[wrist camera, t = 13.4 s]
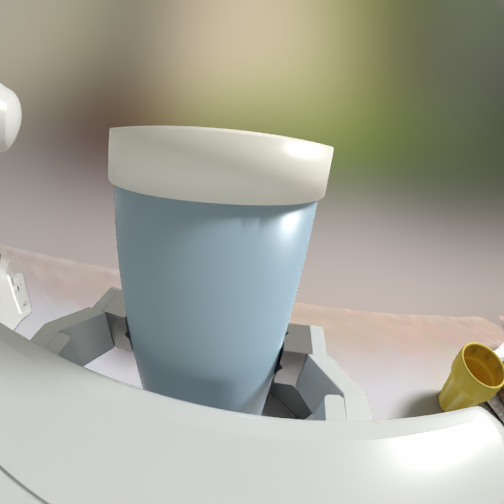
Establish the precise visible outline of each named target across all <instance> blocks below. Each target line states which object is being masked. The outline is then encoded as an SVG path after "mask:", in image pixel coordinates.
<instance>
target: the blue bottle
mask: <svg viewBox="0 0 504 504" xmlns="http://www.w3.org/2000/svg"><path fill="white" fill-rule="evenodd" d="M109 132H110V133H109V153H108V179H109V181H110V182H111V183H113V184H114V203H115V224H116V237H117V249H118V259H119V269H120V277H121V284H122V291H123V298H124V304H125V310H126V316H127V321H128V327H129V332H130V337H131V341H132V346H133V350H134V355H135V359H136V363H137V367H138V371H139V375H140V379H141V382H142V386H143V389H144V390H147V391H150V392H153V393H157V394H160V395H163V396H167V397H171V398H174V399H178V400H182V401H186V402H190V403H194V404H199V405H203V406H208V407H213V408H218V409H223V410H228V411H234V412H240V413H246V414H253V415H261V413H262V410H263V407H264V404H265V401H266V398H267V394H268V391H269V388H270V385H271V382H272V378H273V375H274V372H275V368H276V365H277V362H278V358H279V355H280V351H281V348H282V344H283V341H284V338H285V334H286V330H287V327H288V323H289V320H290V316H291V312H292V308H293V305H294V301H295V297H296V293H297V289H298V285H299V281H300V277H301V273H302V269H303V264H304V260H305V256H306V252H307V248H308V243H309V239H310V234H311V230H312V225H313V221H314V216H315V211H316V206H317V201H318V200H319V199H322V198H323V197H324V196H325V191H326V186H327V181H328V176H329V171H330V166H331V160H332V155H333V147H331V146H328V145H324V144H319V143H315V142H310V141H306V140H301V139H296V138H290V137H284V136H278V135H272V134H265V133H258V132H250V131H242V130H233V129H222V128H209V127H191V126H130V127H116V128H110V131H109Z"/></svg>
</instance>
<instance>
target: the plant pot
mask: <svg viewBox="0 0 504 504" xmlns="http://www.w3.org/2000/svg"><path fill="white" fill-rule="evenodd" d="M503 385H504V365H503V363H502V361H501V359H500V358H499V357H498V355H497V354H496V353H495V352H494V351H493V350H491V349H490V348H489V347H487V346H485V345H483V344H480V343H476V342H471V343H468V344H466V345H465V346H464V347H463V348H462V349H461V351H460V352H459V353H458V355H457V356H456V358H455V360H454V361H453V363H452V367H451V373H450V375H449V377H448V379H447V381H446V383H445V385H444V387H443V388H442V390H441V392H440V394H439V405H440V407H441V409H442V410H443V411H444V412H450V411H455V410H460V409H464V408H469V407H474V406H477V405H478V404H480V403H481V402H485V401H488V400H490V399H491V398H492V397H493V396H494V395H495V394H496V393H497V392H498V391H499V390H500V389H501V387H502V386H503Z"/></svg>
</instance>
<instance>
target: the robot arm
mask: <svg viewBox="0 0 504 504" xmlns="http://www.w3.org/2000/svg"><path fill="white" fill-rule="evenodd" d="M21 115H22V114H21V105H20V102H19V100H18V98H17V96H16V95H15V93H14V92H13V91H12V90H10V89H8V88H6V87H5V86H4V85H2V84H1V83H0V153H1V152H3V151H5V150H7V149H9V148H10V146H11V145H12V143H13V142H14V140H15V138H16V136H17V134H18V131H19V128H20V124H21ZM31 311H32V309H31V305H30V302H29V298H28V294H27V290H26V286H25V281H24V278H23V275H22V274H21V273H13V270H12V267H11V264H10V261H9V260H8V259H6V258H4V257H2V256H1V255H0V504H504V427H503V425H502V424H501V423H500V422H499V421H498V420H497V419H496V418H495V417H494V416H493V415H492V414H491V413H489V412H488V411H487V410H485V409H484V408H482V407H480V406H474V407H469V408H464V409H460V410H455V411H450V412H444V413H439V414H433V415H426V416H418V417H410V418H400V419H388V420H372V414H371V409H370V404H369V399H368V395H367V394H366V393H365V392H364V391H363V390H362V389H361V388H360V387H359V386H358V385H357V384H356V382H355V381H354V380H353V379H352V378H351V377H350V376H349V375H348V374H347V373H346V372H345V371H344V370H343V369H342V368H341V367H340V366H339V365H338V364H337V363H336V362H335V361H334V360H333V359H332V358H331V357H330V356H327V354H326V347H325V340H324V334H323V328H322V327H321V326H313V325H302V324H294V323H288V327H287V330H286V334H285V338H284V341H283V344H282V348H281V351H280V355H279V358H278V362H277V365H276V368H275V372H274V382H275V383H281V384H289V385H296V386H295V387H296V388H297V390H298V391H299V393H300V395H301V396H302V398H303V399H304V401H305V403H306V404H307V406H308V407H309V409H310V410H311V412H312V413H313V417H312V419H311V420H301V419H288V418H278V417H269V416H261V415H253V414H246V413H240V412H234V411H228V410H223V409H218V408H213V407H208V406H203V405H199V404H194V403H190V402H186V401H182V400H178V399H174V398H171V397H167V396H163V395H160V394H157V393H153V392H150V391H147V390H144V389H140V388H137V387H134V386H131V385H129V384H126V383H123V382H120V381H117V380H115V379H112V378H109V377H107V376H104V375H102V374H99V373H97V372H94V371H92V370H89V369H87V368H85V367H83V366H84V365H86V364H88V363H89V362H91V361H93V360H94V359H96V358H98V357H99V356H101V355H102V354H104V353H106V352H107V351H109V350H111V349H112V348H114V346H115V347H118V348H121V349H125V350H128V351H133V346H132V341H131V337H130V332H129V327H128V321H127V316H126V310H125V304H124V298H123V291H122V289H118V288H114V287H112V288H110V289H109V290H108V291H107V292H106V293H105V294H104V295H103V296H102V298H101V299H100V300H99V301H98V302H97V303H96V304H95V305H94V307H93V308H90V307H89V308H86V309H83V310H81V311H78V312H75V313H73V314H70V315H67V316H65V317H62V318H59V319H57V320H54V321H51V322H49V323H46V324H44V325H43V327H42V328H41V329H40V330H39V331H38V332H37V333H36V334H35V335H34V337H33V338H32V339H31V340H28V339H27V338H25V337H23V336H22V335H20V334H18V333H17V332H15V331H13V330H14V329H15V328H16V326H17V325H18V323H19V322H20V321H21V320H22V319H23V318H25V317H26V316H27V315H29V314H30V313H31Z"/></svg>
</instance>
